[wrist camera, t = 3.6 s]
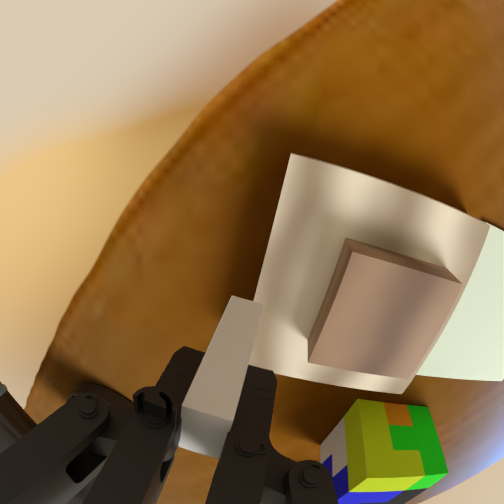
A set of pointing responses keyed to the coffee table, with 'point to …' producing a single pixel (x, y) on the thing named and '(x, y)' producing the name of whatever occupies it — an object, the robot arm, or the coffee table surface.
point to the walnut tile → (380, 311)
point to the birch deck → (328, 251)
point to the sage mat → (475, 322)
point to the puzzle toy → (383, 453)
